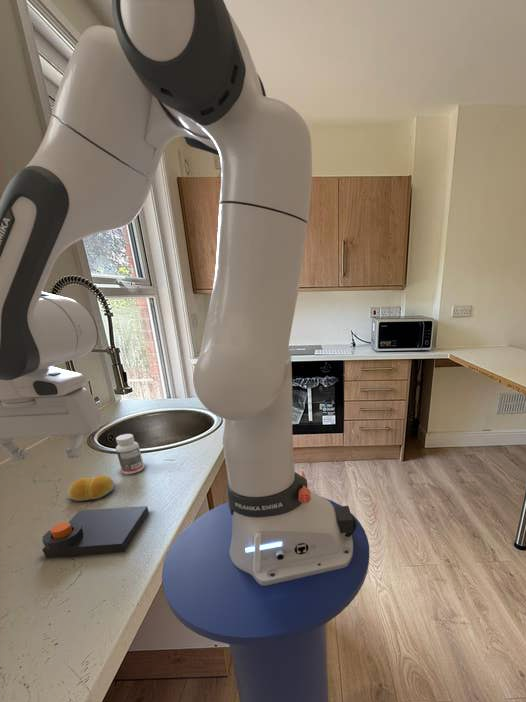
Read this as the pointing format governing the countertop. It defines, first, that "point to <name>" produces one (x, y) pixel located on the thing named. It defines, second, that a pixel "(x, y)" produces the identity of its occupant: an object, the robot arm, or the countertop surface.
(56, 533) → the button
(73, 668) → the countertop surface
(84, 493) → the bread roll
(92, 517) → the scale
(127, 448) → the pill bottle
